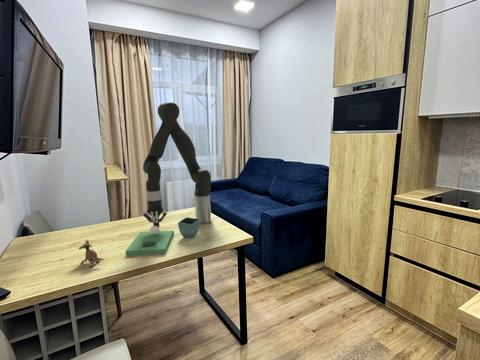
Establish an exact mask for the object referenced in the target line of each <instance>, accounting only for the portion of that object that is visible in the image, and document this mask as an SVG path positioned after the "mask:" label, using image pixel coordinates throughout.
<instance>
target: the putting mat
mask: <svg viewBox="0 0 480 360" xmlns="http://www.w3.org/2000/svg"><path fill="white" fill-rule="evenodd" d="M174 231H175V230H159V233H158V234H157V235H151V234H150V232H149V231H140V232H139V233H138V234H137V236H136V237H135V238H134V239H133V241H131V243H130V244H129V246H128V247H127V248H126V249H125V256H126V257H129V256H130V257H131V256H132V257H133V256H149V255H151V256H152V255H166V254H167V251H168V249H169V247H170V245H171V242H172V240H173V238H174V235H175V232H174Z"/></svg>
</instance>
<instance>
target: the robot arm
mask: <svg viewBox="0 0 480 360" xmlns="http://www.w3.org/2000/svg"><path fill="white" fill-rule="evenodd" d="M157 114H158V117H159V118H160V120H161V125H160V127H159V129H158V130H157V131H156V134H155V136H154V137H153V140H152V142H151V145H150V148H149V153H148V154H147V156H146V158H145V160H144V161H143V162H144V163H143V164H142V169H143V172H144V173H145V174H147V180H146V181H145V187H146V207H147V209H146V211H145V212H144V213H143V214H142V216H143V217H144V218H145V219H146V220H147V221H148V222H149V223H152V224H153V225H152V226H157V227H158V228H159V229H160V222H161V223H162V221H163V220H164V218H165V217H166V216H167V215H168V211H165V210H164V208H163V200H162V192H161V191H162V190H161V183H160V182H161V175H162V169H161V166H160V164H159V161H160V159H162V158H163V156H164V153H165V150H166V147H167V144H168V141H169V138H171V139H172V141H173V143H174V144H175V147H176V149H177V150H178V152H179V154H180V156H181V159H182V160H183V163H184V164H185V165H186V167H187V170H188V174H189V176H190V178H191V180H192V181H193V183H195V184H197V188H196V189H195V190H194V205H195V206H194V208H195V210H194V211H195V218H196V219H200V222H199V225H200V224H201V225H202V224H203V225H205V224H208V223H209V224H210V223H212V216H211V215H212V212H211V210H212V209H211V196H210V195H211V190H212V189H211V188H212V176H211V173H210V171H209V170H208V169H203V168H201V166H200V165H199V163H198V160H197V155H196V148H195V145H194V143H193V141H192V139H191V138H190V136H189V135H188V133H187V132H186V131H185V130H184V129H183V128H182V127H181V125H180V124H179V122H178V118H179V115H180V108H179V105H177V103H175V102H164V103H161V104H159V105H158V107H157ZM160 216H161V217H160Z"/></svg>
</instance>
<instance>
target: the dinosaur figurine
mask: <svg viewBox="0 0 480 360" xmlns="http://www.w3.org/2000/svg"><path fill="white" fill-rule="evenodd" d="M90 248H91V249H90ZM92 248H93V246H92V245H91V244H90V241H89V240H86V239H85V243H84V244H83V245H81V246H80V247H78V250H81V249H82V250H83V249H85V255H84V256H85V259H83V260H82V261H81V262H79V263H80V264H83V263H86V262H89V263H90V264H91V265H90V266H89V268H92V267H94V265H95V263H100V262H101V261H105V259H104V258H101V257H98V253H97V252H96V251H95V249H92Z"/></svg>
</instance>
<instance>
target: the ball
mask: <svg viewBox="0 0 480 360" xmlns="http://www.w3.org/2000/svg"><path fill="white" fill-rule="evenodd" d="M159 231H160V227H159V228H158V227H157V226H153V225H152V226H151V227H150V228H149V231H148V232H150V234H151V235H157V234H158V233H159Z"/></svg>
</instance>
